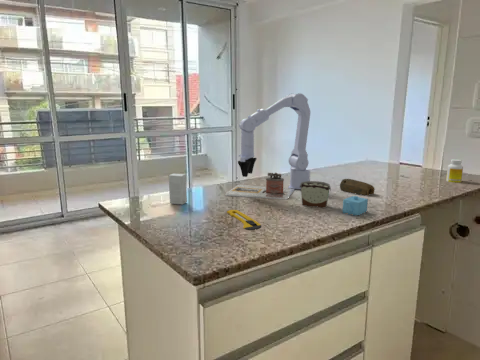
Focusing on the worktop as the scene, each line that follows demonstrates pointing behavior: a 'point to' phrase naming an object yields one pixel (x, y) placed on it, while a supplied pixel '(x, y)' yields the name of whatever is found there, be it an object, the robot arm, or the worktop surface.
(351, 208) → the blue lidded box
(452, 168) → the supplement bottle
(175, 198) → the skincare box
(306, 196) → the food container
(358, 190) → the brown cylinder
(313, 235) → the worktop surface
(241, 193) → the rail plate
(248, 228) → the utility knife
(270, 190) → the lighter
